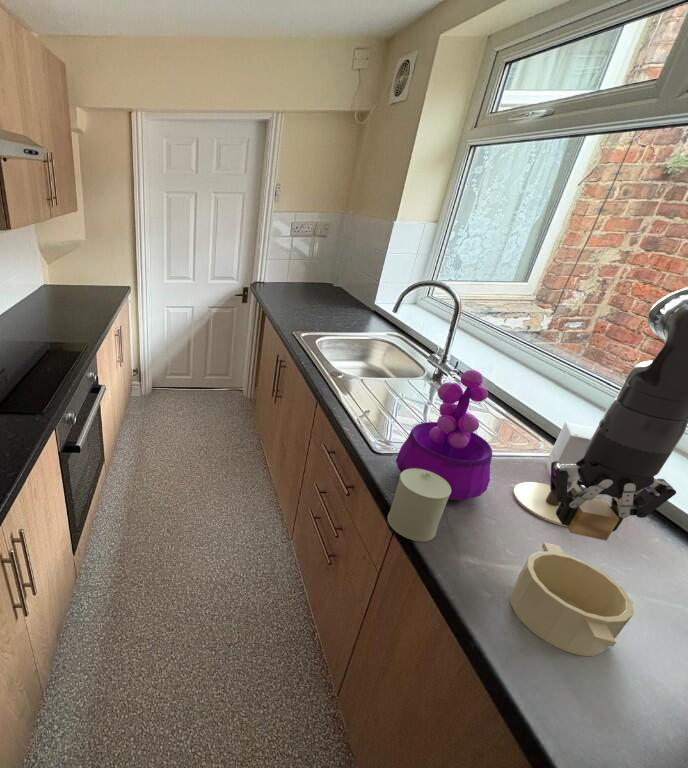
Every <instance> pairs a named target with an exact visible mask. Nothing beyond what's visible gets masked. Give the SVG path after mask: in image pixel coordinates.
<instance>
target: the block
mask: <svg viewBox="0 0 688 768" xmlns="http://www.w3.org/2000/svg"><path fill="white" fill-rule="evenodd" d="M619 520H620V519H619V518H618V516H617V515H616V514H615V513H614V511H613V510H612V509H611V505H610V504H609V503H608V502H607V500H605V499H602V498H597V497H594V498H593V499H592V500H586V501H585V502H584V503H583V504H582V505H580V506H579V507H578V511H577V512H576V514H575V516H574V518H573V519H572V521H571V523H570V525H569V526H567V525H566V526H567V527H566V526H565V527H566V528H567V529H568V531H569V533H570V534H573V535H578V536H583V537H588V538H592V539H597V540H601V541H607V540H608V539H609V537H610V535H611V534H612V533H613V532H612V531H613V529H614V528H615V526H616V524H617V523H618V521H619Z"/></svg>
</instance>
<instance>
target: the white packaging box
mask: <svg viewBox="0 0 688 768" xmlns="http://www.w3.org/2000/svg"><path fill="white" fill-rule="evenodd" d="M596 429H597V427H593V426H588V425H582V424H578V423H573V422H567V421H565V422H564V424H563V426H562V427H561V430H560V432H559V434H558V437H557V439H556V441H555V442H554V444H553V447H552V449H551V451H550V453H549V455H548V457H547V459H546V461H545V463H546V468H547V472H548V474H549V475H548V476H549V477H550V478H551V463H552V462H554V461H559V462H561V464H562V465H568V464H576V463H577V462H578V461H579V460H581V459H582V458H583V457H584V455H585V451H586V448H587V446H588V444H589V442H590V440H591V439H592V437H593V435H594V433H595V431H596ZM578 477H579V475H578V473H575V474H574V475H573V476H572V479H571V480H568V483H571V484H572V482H573V481H574V480H575V479H576V478H578Z"/></svg>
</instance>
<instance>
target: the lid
mask: <svg viewBox="0 0 688 768" xmlns="http://www.w3.org/2000/svg"><path fill="white" fill-rule="evenodd" d="M550 485H551V484H546V483H541V482H535V481H525V482H519V483H517V484H516V485H515V486H514V488H513V490H512V493H513V497H514V499H515V500H516V501H517V503H518V504H519V505H520V506H521V507H523V508H524V510H526V511H527V512H529V513H531V514H532V515H534V516H535V517H538V518H540V519H542V520H544V521H545V522H548V523H552V524H555V525H558V526H561V527H566V528H567V526H566V525H562V523H561V522H560V520H559V519H558V517H557V515H556V511H557V509H558V507H559V505H560V503H561V502H558V501H557V500H556V498H555V496H554V495H553V493H552V492H551V490H550ZM569 488H570V487H569V485H567V490H568V489H569Z"/></svg>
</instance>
